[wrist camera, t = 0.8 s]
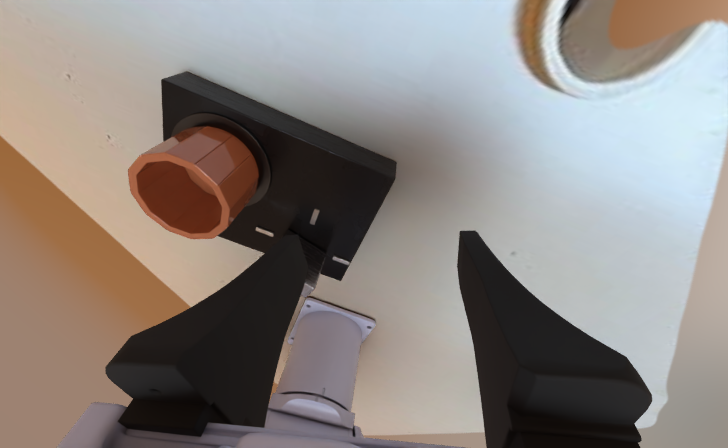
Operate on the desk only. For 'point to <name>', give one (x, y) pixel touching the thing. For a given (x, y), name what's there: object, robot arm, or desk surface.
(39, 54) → the desk surface
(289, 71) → the desk surface
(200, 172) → the small cup
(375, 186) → the stove
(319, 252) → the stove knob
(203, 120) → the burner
